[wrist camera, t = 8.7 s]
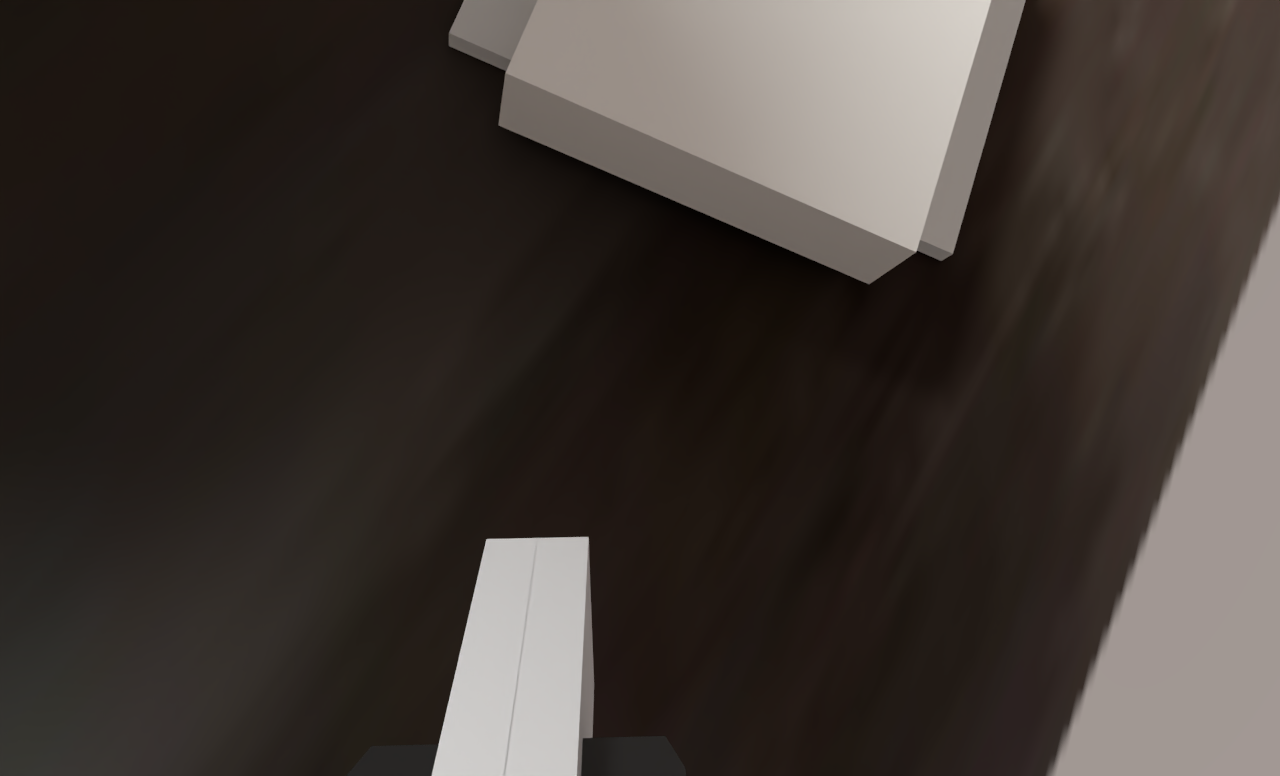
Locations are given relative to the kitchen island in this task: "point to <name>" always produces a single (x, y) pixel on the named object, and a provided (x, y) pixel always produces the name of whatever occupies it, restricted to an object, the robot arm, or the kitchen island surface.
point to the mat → (507, 3)
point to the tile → (758, 110)
